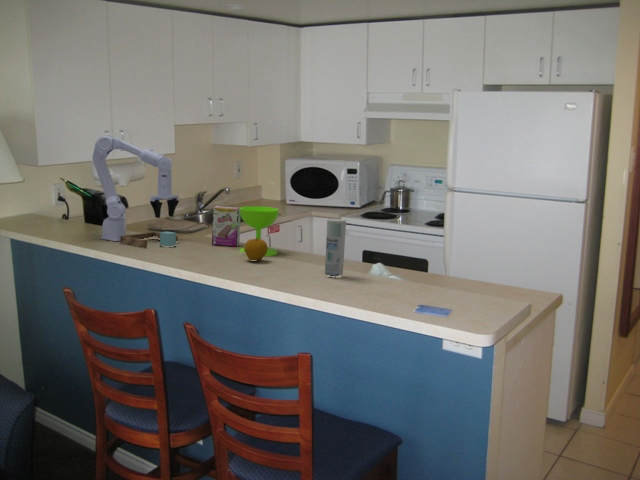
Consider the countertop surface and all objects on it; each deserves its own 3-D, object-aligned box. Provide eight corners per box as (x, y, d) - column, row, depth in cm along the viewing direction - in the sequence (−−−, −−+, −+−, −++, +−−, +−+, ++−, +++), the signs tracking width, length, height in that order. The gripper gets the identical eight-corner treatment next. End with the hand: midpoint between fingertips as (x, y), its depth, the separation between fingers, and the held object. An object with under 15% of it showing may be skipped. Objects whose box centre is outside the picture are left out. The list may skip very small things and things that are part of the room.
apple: (263, 264, 247) (264, 240, 246) (240, 262, 249) (241, 238, 248) (270, 260, 256) (270, 237, 255) (247, 258, 258) (248, 235, 256)
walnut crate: (120, 243, 277) (120, 236, 276) (153, 238, 291) (153, 232, 291) (145, 248, 268) (145, 240, 268) (177, 243, 283) (177, 236, 283)
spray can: (346, 276, 233) (349, 220, 230) (337, 279, 228) (340, 221, 225) (330, 273, 237) (333, 218, 234) (321, 276, 231) (323, 219, 228)
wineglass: (231, 253, 266) (232, 209, 263) (247, 247, 281) (248, 205, 278) (269, 257, 261) (270, 212, 258) (282, 251, 276) (284, 208, 273)
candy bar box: (211, 245, 282) (212, 207, 280) (214, 243, 287) (215, 205, 285) (237, 247, 281) (238, 208, 279) (239, 245, 286) (241, 207, 284)
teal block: (159, 246, 274) (160, 232, 273) (167, 245, 277) (167, 231, 276) (168, 248, 271) (168, 233, 270) (175, 247, 274) (175, 232, 273)
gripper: (158, 186, 276) (157, 219, 278) (183, 185, 288) (183, 216, 290) (146, 185, 280) (146, 217, 282) (172, 184, 292) (171, 215, 294)
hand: (164, 217), depth 286 cm, fingers open, 7 cm apart
